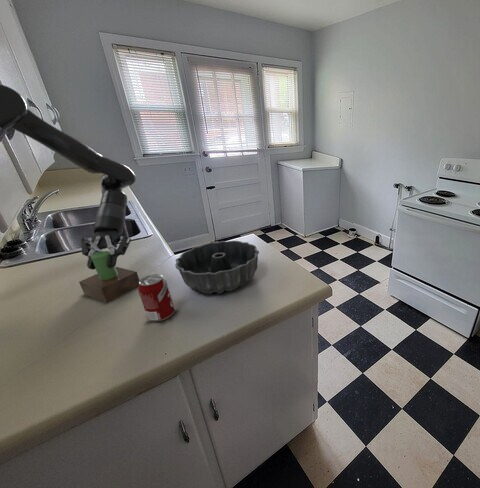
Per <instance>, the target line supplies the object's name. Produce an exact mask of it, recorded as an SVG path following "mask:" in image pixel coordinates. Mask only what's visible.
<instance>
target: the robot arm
mask: <svg viewBox="0 0 480 488" xmlns="http://www.w3.org/2000/svg"><path fill="white" fill-rule="evenodd" d="M0 127H1V128H2V129H3V132H4V131H6V130H8V129H13V130H14V131H16V132H19V133H21V134H22V135H25V136H26V137H28V138H30V139H32V140H34V141H35V142H37V143H39V144H41V145H43V146H44V147H46V148H48V149H49V150H50V151H53V152H54V153H56V154H57V155H59V156H60V157H62V158H63V159H65V160H67V161H68V162H70V163H71V164H74V165H75V166H77V167H79V168H80V169H82V170H83V171H85V172H87V173H90V174H92V175H93V174H94V175H95V174H102V175H101V178H100V189H101V190H100V191H101V197H100V202H99V205H98V209H97V211H96V216H95V221H94V225H93V234H92V235H91V237H88V238H85V237H82V238H81V239H80V242H81V243H80V245H81V254H82V255H83V256H85V257H87V263H86V267H87V269H89V270H96V269H95V266H94V264H93V261H92V259H91V255H93V254H95V253H98V252H103V251H104V250H106V249H108V250H109V252H110V254H111V255H109V258H108V263H107V267H109V268H114V266H115V267H116V266H117V262H118V257H119V256H124V255H126V252H127V250H128V248H129V246H130V244H131V241H132V239H131V238H130V237H129V236H127V235H123V232H124V227H125V221H126V209H127V204H128V196H127V194H126V193H125V192H123V191H122V190H123V189H125V188H128V187H130V186H133V185H134V184H135V183H136V181H137V179H136V178H137V177H136V174H135V172H134V171H133V170H132V169H130V167H128V166H127V165H125V164H122V163H120V162H118V161H116V160H114V159H111V158H109V157H106V156H103V155H102V154H100V152H97V151H96V150H95V149H93V148H91V147H90V146H89V145H87V144H85V143H83V142H82V141H80V140H79V139H76V138H75V137H73V136H71V135H70V134H69V133H66V132H64V131H62V130H60V129H59V128H57V127H55V126H54V125H51V124H50V123H48V122H46V121H45V120H44V119H42V118H41V117H39V116H38V115H36V114H35V113H34V112H32V111H31V110H30V109H29V108H28V105H27V103H26V100H25V99H24V98H23V96H22V95H21V94H20V93H19V92H18V91H16V90H15V89H14V88H12V87H9V86H8V85H4V84H1V83H0ZM118 244H119V245H118Z"/></svg>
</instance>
